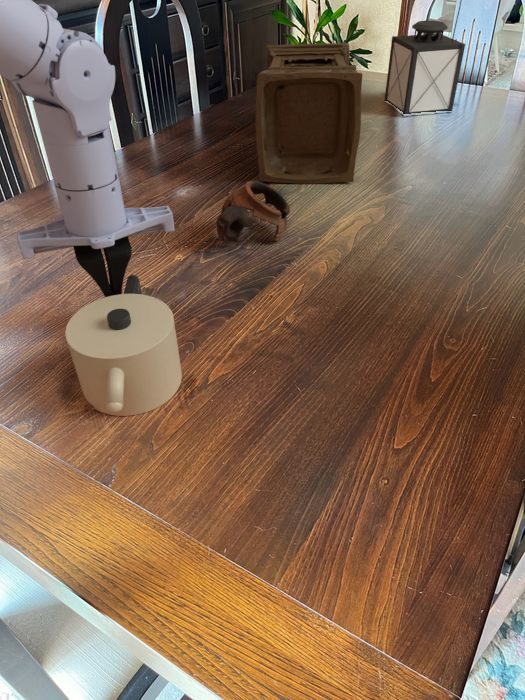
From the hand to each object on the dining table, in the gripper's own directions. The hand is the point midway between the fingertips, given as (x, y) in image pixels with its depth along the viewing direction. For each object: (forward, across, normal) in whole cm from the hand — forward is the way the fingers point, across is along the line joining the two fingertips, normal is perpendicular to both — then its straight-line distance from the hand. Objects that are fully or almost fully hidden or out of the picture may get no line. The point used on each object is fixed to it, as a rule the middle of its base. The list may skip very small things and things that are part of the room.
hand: (114, 301), depth 59 cm
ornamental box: (+5, +43, +45) cm, 62 cm away
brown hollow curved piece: (+5, +21, +16) cm, 27 cm away
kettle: (+3, 0, -9) cm, 10 cm away
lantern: (+5, +76, +56) cm, 94 cm away
